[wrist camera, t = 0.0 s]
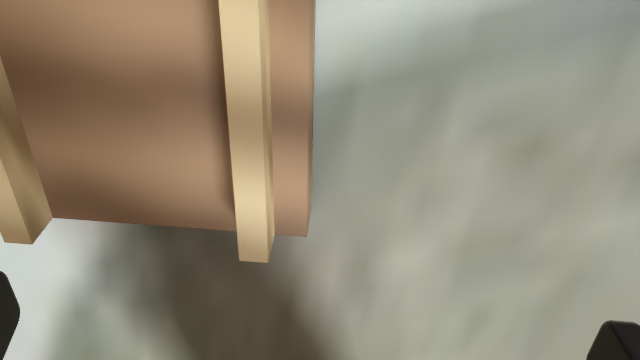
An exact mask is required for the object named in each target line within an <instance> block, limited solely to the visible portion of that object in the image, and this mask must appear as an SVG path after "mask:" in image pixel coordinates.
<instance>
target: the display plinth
mask: <svg viewBox="0 0 640 360" xmlns="http://www.w3.org/2000/svg"><path fill="white" fill-rule="evenodd" d="M314 46H315V0H0V232H1V235H2V237H3V240H4V242H7V243H20V244H33V243H34V241H35V240H36V239H37V238H38V236H39V235H40V234H41V232H42V231H43V230H44V228H45V227H46V226H47V224H48V223H49V222H50V221H51V219H52V218H65V219H78V220H91V221H104V222H118V223H131V224H144V225H158V226H171V227H184V228H197V229H211V230H224V231H237V239H238V252H239V261H250V262H263V263H268V261H269V257H270V253H271V248H272V244H273V240H274V235H275V234H277V235H290V236H304V237H307V231H308V225H309V218H310V212H311V186H312V139H313V93H314Z"/></svg>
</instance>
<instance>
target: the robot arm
mask: <svg viewBox="0 0 640 360" xmlns="http://www.w3.org/2000/svg"><path fill="white" fill-rule="evenodd" d="M19 317H20V307H19V304H18V302H17V299H16V297H15V294H14V292H13V290H12V287H11V285H10V283H9V280H8V278H7V276H6V275H5V274H4V273H3V272H2V271H0V360H3V358H4V355H5V353H6V351H7V348H8V346H9V343H10V341H11V339H12V336H13V334H14V331H15V329H16V327H17V324H18V321H19ZM586 360H640V326H639V325H638V324H636V323H633V322H624V321H612V320H610V321H606V322H605V323H603V325H602V326H601V328H600V330H599V332H598V334H597V336H596V338H595V340H594V342H593V344H592V346H591V348H590V350H589V353H588V355H587V359H586Z"/></svg>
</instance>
